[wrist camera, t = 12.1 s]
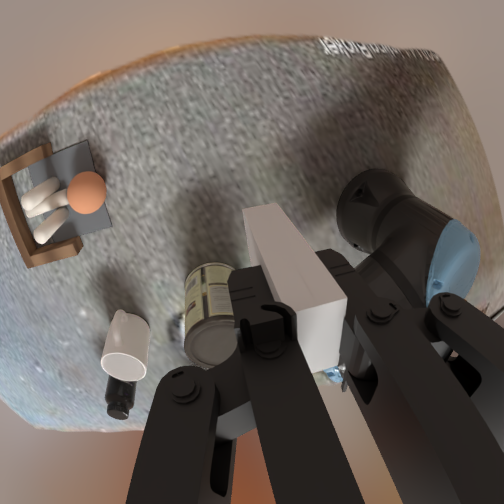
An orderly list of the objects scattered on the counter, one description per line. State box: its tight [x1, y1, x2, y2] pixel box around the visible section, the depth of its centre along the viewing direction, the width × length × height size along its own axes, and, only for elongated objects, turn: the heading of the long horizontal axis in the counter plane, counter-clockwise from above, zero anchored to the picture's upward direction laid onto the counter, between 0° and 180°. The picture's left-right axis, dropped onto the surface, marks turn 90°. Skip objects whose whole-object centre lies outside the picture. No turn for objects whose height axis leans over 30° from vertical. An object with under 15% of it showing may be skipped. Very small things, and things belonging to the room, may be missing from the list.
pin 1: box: [21, 177, 60, 211], centre depth 30 cm, size 2×2×8 cm
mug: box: [101, 309, 150, 381], centre depth 44 cm, size 12×8×10 cm
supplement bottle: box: [105, 375, 137, 420], centre depth 50 cm, size 7×7×12 cm
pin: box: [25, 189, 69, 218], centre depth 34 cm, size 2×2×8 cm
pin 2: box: [34, 206, 69, 244], centre depth 32 cm, size 2×2×8 cm
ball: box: [67, 171, 106, 214], centre depth 33 cm, size 6×6×6 cm
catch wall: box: [0, 143, 83, 268], centre depth 33 cm, size 12×18×3 cm, turn 8°
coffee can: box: [184, 262, 237, 369], centre depth 42 cm, size 10×10×14 cm
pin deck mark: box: [28, 140, 112, 243], centre depth 35 cm, size 12×14×1 cm
